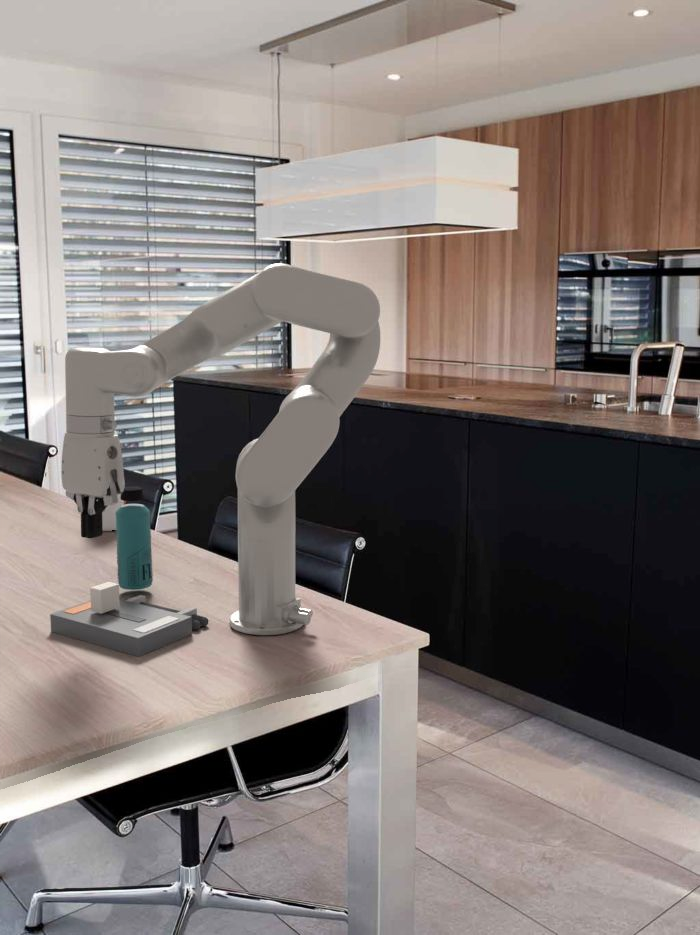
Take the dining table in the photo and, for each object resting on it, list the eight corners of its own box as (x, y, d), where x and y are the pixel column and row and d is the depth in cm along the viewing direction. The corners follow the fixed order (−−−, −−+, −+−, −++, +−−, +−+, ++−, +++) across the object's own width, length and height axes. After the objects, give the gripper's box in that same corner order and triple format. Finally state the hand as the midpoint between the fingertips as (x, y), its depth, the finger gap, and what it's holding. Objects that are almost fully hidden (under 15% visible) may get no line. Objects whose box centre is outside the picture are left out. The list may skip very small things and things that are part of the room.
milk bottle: (122, 532, 223) (119, 448, 220) (89, 531, 223) (85, 447, 220) (130, 524, 231) (127, 443, 227) (98, 524, 231) (95, 442, 227)
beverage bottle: (145, 599, 173) (141, 491, 170) (111, 596, 175) (107, 490, 171) (159, 588, 180) (156, 485, 176) (126, 586, 181) (122, 483, 178)
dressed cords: (211, 625, 160) (211, 611, 159) (195, 632, 156) (195, 618, 156) (128, 604, 170) (127, 591, 170) (111, 610, 167) (110, 597, 166)
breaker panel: (192, 634, 155) (191, 616, 155) (138, 656, 145) (138, 637, 145) (106, 612, 166) (105, 595, 165) (51, 631, 156) (50, 613, 156)
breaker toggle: (119, 607, 158) (118, 584, 157) (101, 613, 155) (100, 590, 154) (109, 604, 159) (108, 581, 159) (91, 611, 156) (90, 587, 155)
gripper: (141, 427, 152) (141, 539, 155) (75, 419, 159) (76, 525, 163) (107, 432, 145) (108, 548, 149) (39, 423, 153) (42, 533, 156)
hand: (91, 536), depth 156 cm, fingers closed
